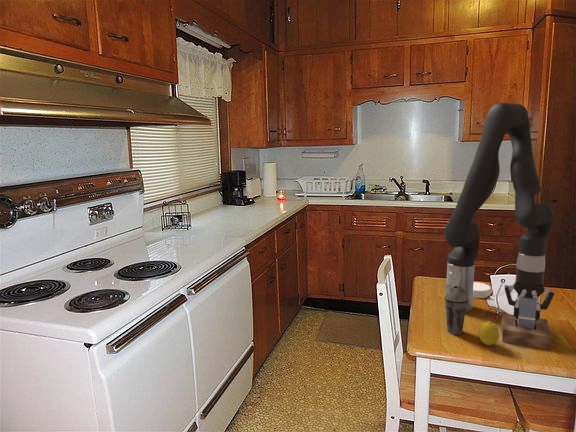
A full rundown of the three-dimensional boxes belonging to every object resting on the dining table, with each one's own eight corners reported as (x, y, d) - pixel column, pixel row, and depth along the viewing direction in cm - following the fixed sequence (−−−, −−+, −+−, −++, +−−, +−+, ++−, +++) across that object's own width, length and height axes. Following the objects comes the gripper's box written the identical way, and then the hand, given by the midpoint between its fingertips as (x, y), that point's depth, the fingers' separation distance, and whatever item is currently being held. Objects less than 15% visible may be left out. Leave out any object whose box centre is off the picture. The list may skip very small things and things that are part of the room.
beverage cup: (438, 329, 141) (440, 272, 137) (454, 325, 144) (457, 268, 140) (454, 338, 134) (457, 279, 130) (471, 334, 137) (475, 275, 133)
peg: (517, 330, 133) (520, 297, 131) (516, 324, 137) (519, 292, 135) (534, 333, 131) (537, 299, 129) (532, 326, 135) (535, 294, 133)
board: (502, 341, 132) (503, 329, 131) (501, 324, 143) (501, 313, 142) (550, 349, 126) (552, 337, 125) (545, 330, 138) (546, 319, 137)
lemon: (474, 342, 132) (476, 318, 130) (491, 340, 132) (493, 317, 131) (484, 350, 126) (486, 326, 125) (501, 349, 127) (503, 325, 125)
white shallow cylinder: (490, 300, 164) (491, 291, 163) (462, 296, 168) (463, 288, 167) (490, 291, 172) (491, 283, 172) (464, 288, 177) (464, 280, 176)
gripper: (505, 268, 130) (501, 320, 133) (559, 273, 124) (554, 327, 127) (504, 261, 137) (500, 311, 140) (555, 266, 131) (550, 317, 134)
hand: (526, 318), depth 134 cm, fingers closed on peg, 4 cm apart
